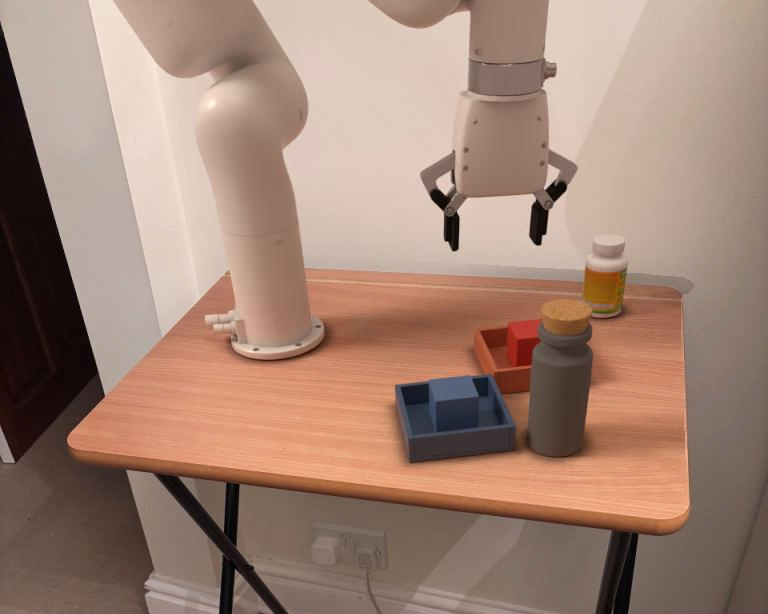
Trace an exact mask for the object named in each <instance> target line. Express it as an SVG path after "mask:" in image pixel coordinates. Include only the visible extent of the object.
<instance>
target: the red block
mask: <svg viewBox="0 0 768 614" xmlns="http://www.w3.org/2000/svg"><path fill="white" fill-rule="evenodd" d="M542 321H543V319H542V318H536V319H535V318H533V319H525V320H517V321H516V320H515V321H508V322H507V326H508V334H507V358H508V360H509V362H510V364H511V366H512V368H513V367H521V366H530V365H532V355H533V349H534V348H535V346H536V345H537V344H539V343H540V342H542V341H541V340H540V339H539V337H538V326H539V324H540V323H541V322H542Z"/></svg>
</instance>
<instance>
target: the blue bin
mask: <svg viewBox="0 0 768 614" xmlns="http://www.w3.org/2000/svg"><path fill="white" fill-rule="evenodd" d="M470 376H471V378H472V381H473V383H474V385H475V388H476V390H477V393H478V395H479V428H471V429H462V430H453V431H445V432H436V433H435V432H434V428H433V425H432V422H431V419H430V412H429V380H425V381H417V382H416V381H415V382H407V383H398V384H394V397H395V398H394V399H395V409H396V413H397V418H398V421H399V426H400V429H401V434H402V438H403V443H404V446H405V450H406V455H407V458H408V462H409V463H417V462H426V461H435V460H442V459H449V458H451V459H452V458H460V457H467V456H479V455H485V454H494V453H502V452H510V451H515V450H516V436H517V435H516V434H517V425H516V423H515V421H514V418H513V416H512V414H511V412H510V410H509V408H508V406H507V404H506V401H505V399H504V397H503V395H502V394H501V393H500V390H499V388H498V386H497V384H496V382H495V380H494V377H493V375H492V374H487V375H485V374H478V375H470Z"/></svg>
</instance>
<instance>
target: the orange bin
mask: <svg viewBox="0 0 768 614" xmlns="http://www.w3.org/2000/svg"><path fill="white" fill-rule="evenodd" d="M507 334H508V325H500V326H490V327H482V328H474V329H473V352H474V354H475V356H476V359H477V361H478V363H479V365H480V367H481V370H482V372H483V375H487V374H492V375H493V377H494V380H495V382H496V384H497V386H498V388H499V390H500V393H501V395H502V394H513V393H521V392H528V391H529V392H530V381H531V367H532V365H530V366H521V367H513V368H512V366H511V364H510V362H509V360H508V358H507Z"/></svg>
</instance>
